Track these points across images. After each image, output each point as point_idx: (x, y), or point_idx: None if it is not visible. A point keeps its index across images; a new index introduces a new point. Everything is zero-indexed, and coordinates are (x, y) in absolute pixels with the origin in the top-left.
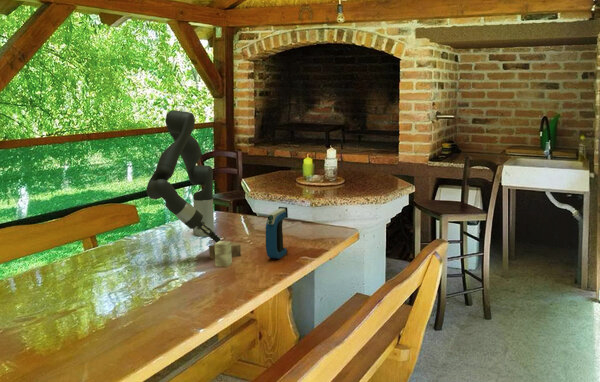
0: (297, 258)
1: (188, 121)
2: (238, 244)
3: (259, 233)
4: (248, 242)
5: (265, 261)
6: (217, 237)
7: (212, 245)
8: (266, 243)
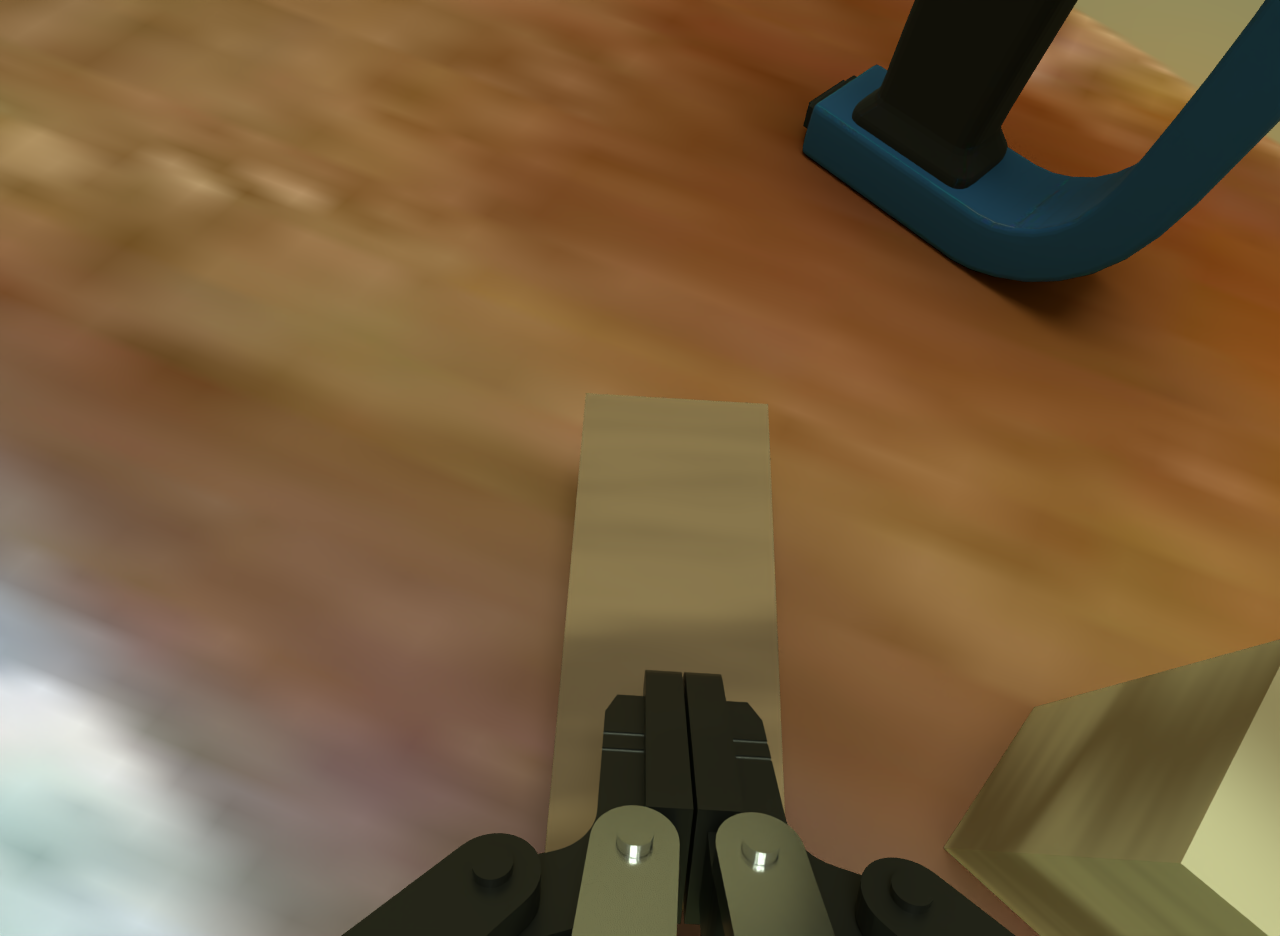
0: (1047, 112)
1: None
2: (732, 416)
3: (11, 10)
4: (243, 202)
5: (1066, 349)
6: (726, 742)
7: (564, 826)
8: (1218, 180)
